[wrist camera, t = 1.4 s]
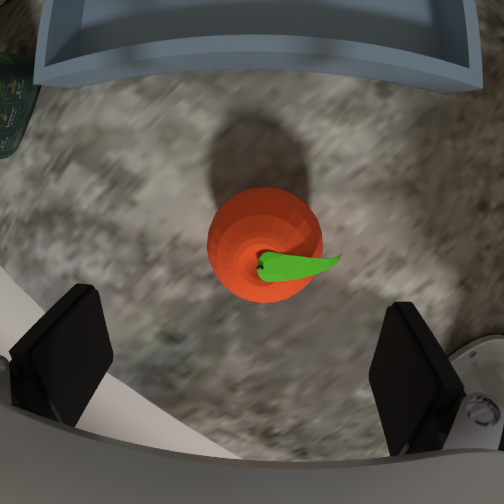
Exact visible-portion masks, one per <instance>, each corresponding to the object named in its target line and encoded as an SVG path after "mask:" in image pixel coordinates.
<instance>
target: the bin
mask: <svg viewBox="0 0 504 504" xmlns="http://www.w3.org/2000/svg"><path fill="white" fill-rule="evenodd" d="M242 69H252V70H288V71H305V72H318V73H328V74H338V75H347V76H354V77H362V78H369V79H375V80H381V81H387V82H393V83H398V84H403V85H408V86H413V87H417V88H422V89H426V90H431V91H435V92H439V93H443V94H453V93H458V92H464V91H471V90H477V89H483V72H482V55H481V43H480V33H479V25H478V17H477V11H476V4H475V0H44V3H43V8H42V14H41V19H40V25H39V32H38V39H37V47H36V56H35V66H34V79H33V84H35V85H47V86H57V87H66V88H77V87H82V86H87V85H92V84H97V83H102V82H108V81H114V80H120V79H126V78H133V77H140V76H148V75H156V74H166V73H177V72H190V71H206V70H242Z"/></svg>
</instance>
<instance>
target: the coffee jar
mask: <svg viewBox="0 0 504 504" xmlns="http://www.w3.org/2000/svg"><path fill="white" fill-rule="evenodd" d="M34 66H35V64H34V62H33V61H31V60H30V59H28V58H26V57H24V56H22V55H19V54H13V53H0V159H4V158H8V157H9V156H11V155H12V154H13V153H14V152H15V151H16V150H17V148H18V146H19V144H20V142H21V140H22V137H23V135H24V133H25V130H26V128H27V125H28V122H29V119H30V116H31V113H32V111H33V108H34V105H35V101H36V98H37V95H38V91H39V87H40V85H35V84H33V79H34Z"/></svg>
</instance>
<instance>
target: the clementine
mask: <svg viewBox="0 0 504 504" xmlns="http://www.w3.org/2000/svg"><path fill="white" fill-rule="evenodd" d="M322 251H323V242H322V231H321V228H320V225H319V223H318V220H317V218H316V216H315V215H314V213H313V212H312V211H311V209H310V208H309V206H308V205H306V204H305V203H304V202H303V201H302V200H300V199H299V198H298V197H297V196H295V195H294V194H291V193H289V192H287V191H285V190H283V189H278V188H272V187H259V188H251V189H248V190H246V191H243V192H241V193H238V194H236V195H234V196H233V197H232V198H230V199H229V200H228V201H226V202H225V203H224V204H223V205H222V206H221V208H220V209H219V210H218V212H217V213H216V214H215V216H214V218H213V221H212V224H211V226H210V229H209V232H208V240H207V252H208V257H209V262H210V264H211V266H212V268H213V270H214V273H215V274H216V276H217V278H218V279H219V280H220V281H221V283H222V284H223V285H224V286H225V287H226V288H227V289H228V290H230V291H231V292H232V293H234V294H235V295H237V296H239V297H241V298H244V299H246V300H248V301H254V302H260V303H268V302H277V301H280V300H284V299H287V298H289V297H291V296H292V295H294V294H296V293H297V292H299V291H300V290H302V289H303V288H304V287H305V286H306V285H307V284H308V283H309V282H310V280H311V279H312V278H313V276H314V275H315V274H317V273H320V272H322V271H325V270H327V269H329V268H330V267H332V266H333V265H335V264H336V263H337V262H338V261H339V259H340V257H341V256H342V254H341V255H340V256H338V257H336V258H321V256H322Z"/></svg>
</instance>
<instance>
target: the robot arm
mask: <svg viewBox="0 0 504 504" xmlns="http://www.w3.org/2000/svg"><path fill="white" fill-rule="evenodd" d="M9 353H10V355H11V357H12V360H11V361H10V362H9V361H8V360H7V359H6V358H5V357H3V356H1V355H0V504H504V335H500V334H496V335H488V336H485V337H481V338H479V339H477V340H474V341H472V342H470V343H468V344H467V345H465V346H463V347H462V348H460V349H459V350H457V351H456V352H455V353H453V354H452V355H451V356H450V357H449V358H447V356H446V354H445V353H444V351H443V349H442V348H441V346H440V345H439V343H438V341H437V340H436V338H435V337H434V335H433V333H432V332H431V330H430V329H429V327H428V326H427V324H426V323H425V321H424V319H423V318H422V316H421V315H420V313H419V312H418V310H417V309H416V307H415V306H414V304H413V303H412V302H394V303H393V304H392V306H389V307H388V308H387V310H386V314H385V318H384V321H383V325H382V329H381V333H380V336H379V340H378V343H377V347H376V350H375V353H374V357H373V360H372V363H371V367H370V370H369V382H370V385H371V388H372V392H373V395H374V399H375V402H376V405H377V409H378V412H379V416H380V419H381V423H382V427H383V430H384V434H385V438H386V441H387V445H388V449H389V453H390V457H381V458H370V459H357V460H343V461H320V462H278V461H256V460H241V459H228V458H218V457H209V456H202V455H194V454H187V453H181V452H175V451H169V450H163V449H158V448H153V447H148V446H143V445H138V444H134V443H129V442H125V441H120V440H117V439H113V438H108V437H105V436H102V435H98V434H94V433H91V432H87V431H84V430H81V429H77V428H75V426H76V424H77V422H78V420H79V419H80V417H81V415H82V413H83V411H84V410H85V408H86V406H87V404H88V403H89V401H90V399H91V397H92V396H93V394H94V392H95V391H96V389H97V387H98V385H99V384H100V382H101V380H102V379H103V377H104V375H105V374H106V372H107V370H108V369H109V367H110V365H111V364H112V361H113V350H112V346H111V343H110V339H109V335H108V331H107V327H106V322H105V318H104V314H103V309H102V305H101V300H100V295H99V292H98V290H95V288H94V286H93V285H88V284H79V283H77V284H76V285H74V286H73V287H72V288H71V289H70V290H69V291H68V292H67V293H66V294H65V295H64V296H63V297H62V298H61V299H60V300H59V301H57V302H56V303H55V304H54V305H53V306H52V307H51V308H50V309H49V310H48V311H47V312H46V313H45V314H44V315H43V316H42V317H41V318H40V319H39V320H38V321H37V322H36V323H35V324H34V325H33V326H32V327H31V328H30V329H29V330H28V331H27V333H26V334H25V335H24V336H23V337H22V338H21V339H20V340H19V341H18V342H17V343H16V344H15V345H14V346H13V347H12V348H11V349H10V350H9Z"/></svg>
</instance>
